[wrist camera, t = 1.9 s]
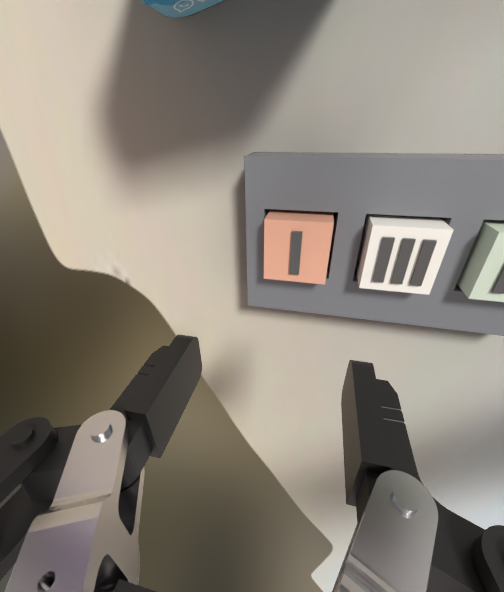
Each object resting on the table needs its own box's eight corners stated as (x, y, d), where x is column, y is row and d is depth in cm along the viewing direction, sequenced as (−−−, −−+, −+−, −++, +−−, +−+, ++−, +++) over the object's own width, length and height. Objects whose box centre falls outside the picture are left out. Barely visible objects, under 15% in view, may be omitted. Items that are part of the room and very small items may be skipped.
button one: (333, 210, 21) (333, 223, 18) (325, 267, 23) (325, 285, 21) (271, 207, 22) (263, 219, 19) (270, 262, 24) (263, 279, 21)
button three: (437, 215, 19) (454, 230, 17) (417, 275, 22) (430, 296, 19) (367, 212, 20) (373, 226, 18) (355, 269, 23) (359, 289, 20)
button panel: (608, 155, 17) (656, 161, 15) (513, 316, 23) (536, 339, 21) (254, 152, 21) (244, 156, 19) (254, 288, 28) (247, 305, 25)
